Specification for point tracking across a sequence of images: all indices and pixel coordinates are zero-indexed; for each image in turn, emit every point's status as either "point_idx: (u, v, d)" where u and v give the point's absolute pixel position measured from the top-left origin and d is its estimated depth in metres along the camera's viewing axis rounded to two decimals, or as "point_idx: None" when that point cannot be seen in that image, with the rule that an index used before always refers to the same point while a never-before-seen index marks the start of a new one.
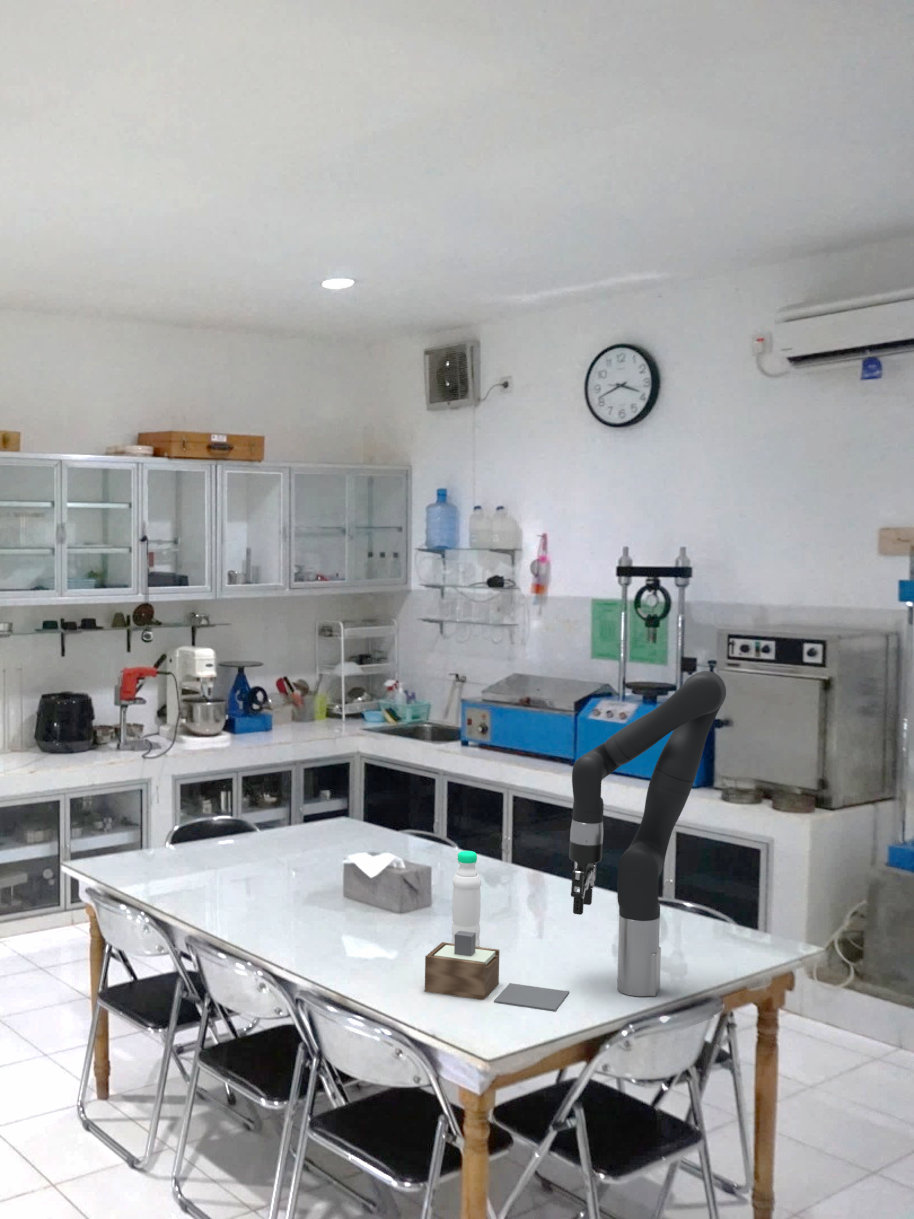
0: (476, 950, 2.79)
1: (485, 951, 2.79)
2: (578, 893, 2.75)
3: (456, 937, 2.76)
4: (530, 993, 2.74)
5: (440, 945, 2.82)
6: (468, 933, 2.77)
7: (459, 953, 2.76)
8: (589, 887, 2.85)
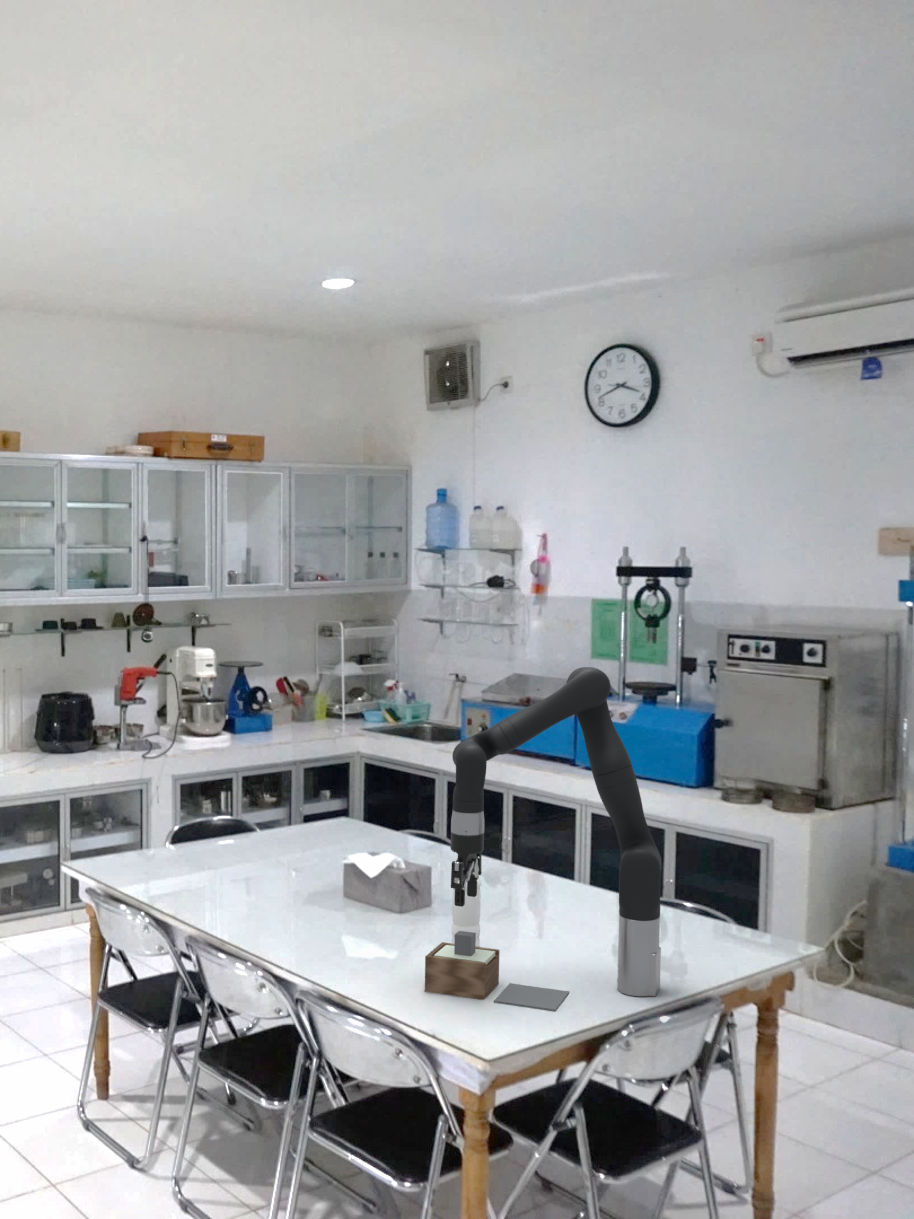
0: (476, 950, 2.79)
1: (485, 951, 2.79)
2: (458, 884, 2.70)
3: (456, 937, 2.76)
4: (530, 993, 2.74)
5: (440, 945, 2.82)
6: (468, 933, 2.77)
7: (459, 953, 2.76)
8: (474, 879, 2.80)
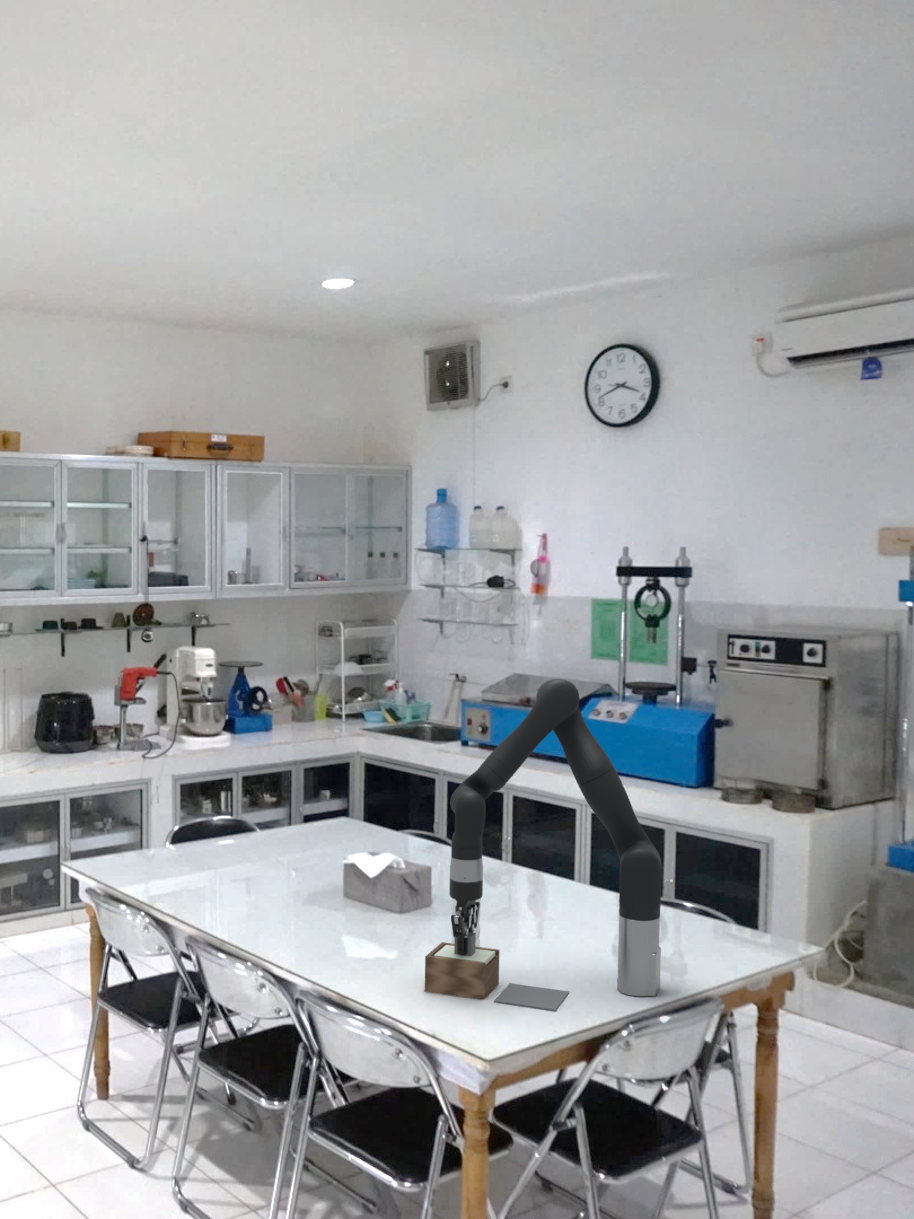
0: (476, 950, 2.79)
1: (485, 951, 2.79)
2: (460, 933, 2.73)
3: (456, 937, 2.76)
4: (530, 993, 2.74)
5: (440, 945, 2.82)
6: (468, 933, 2.77)
7: None
8: None
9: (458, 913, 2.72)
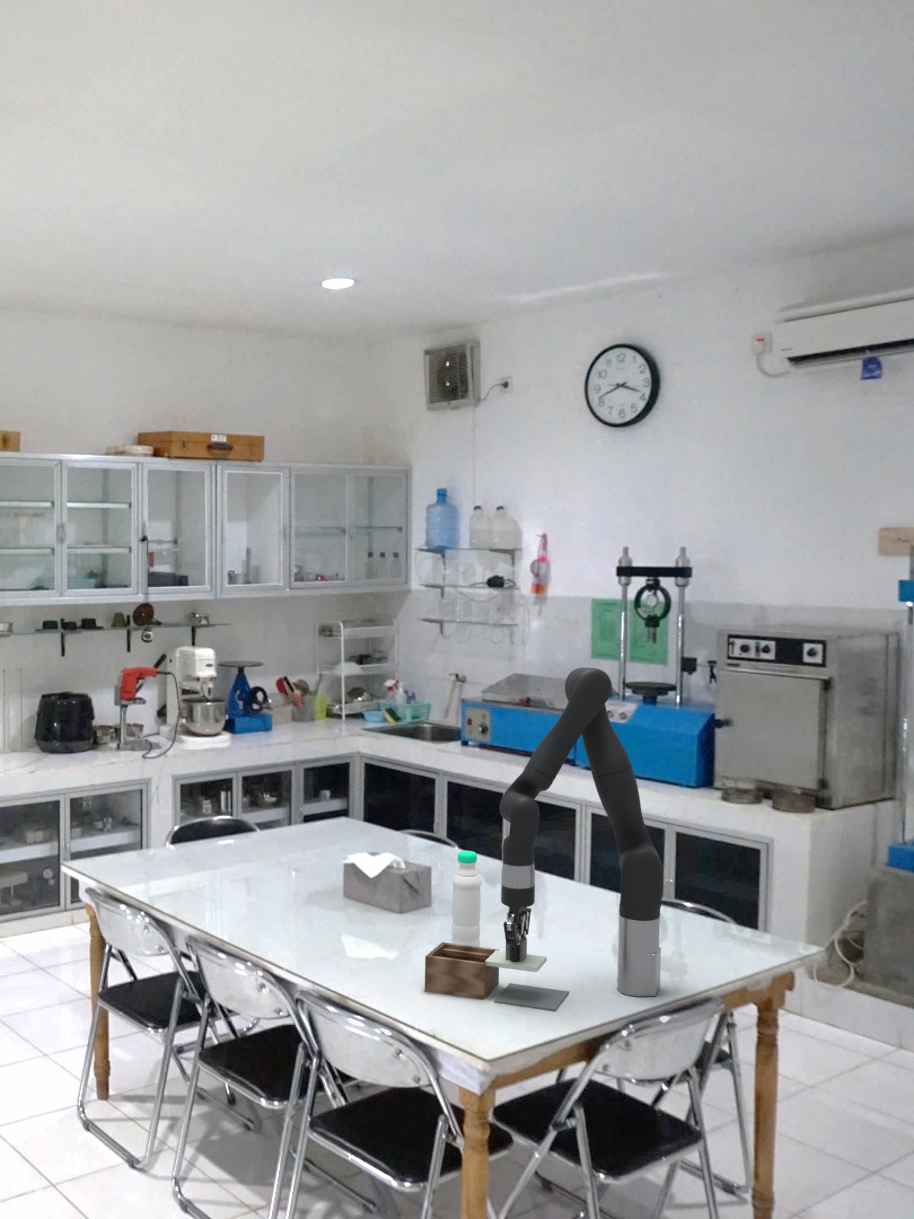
0: (527, 955, 2.75)
1: (536, 956, 2.75)
2: (513, 940, 2.69)
3: None
4: (530, 993, 2.74)
5: (440, 945, 2.82)
6: None
7: None
8: None
9: (511, 920, 2.68)
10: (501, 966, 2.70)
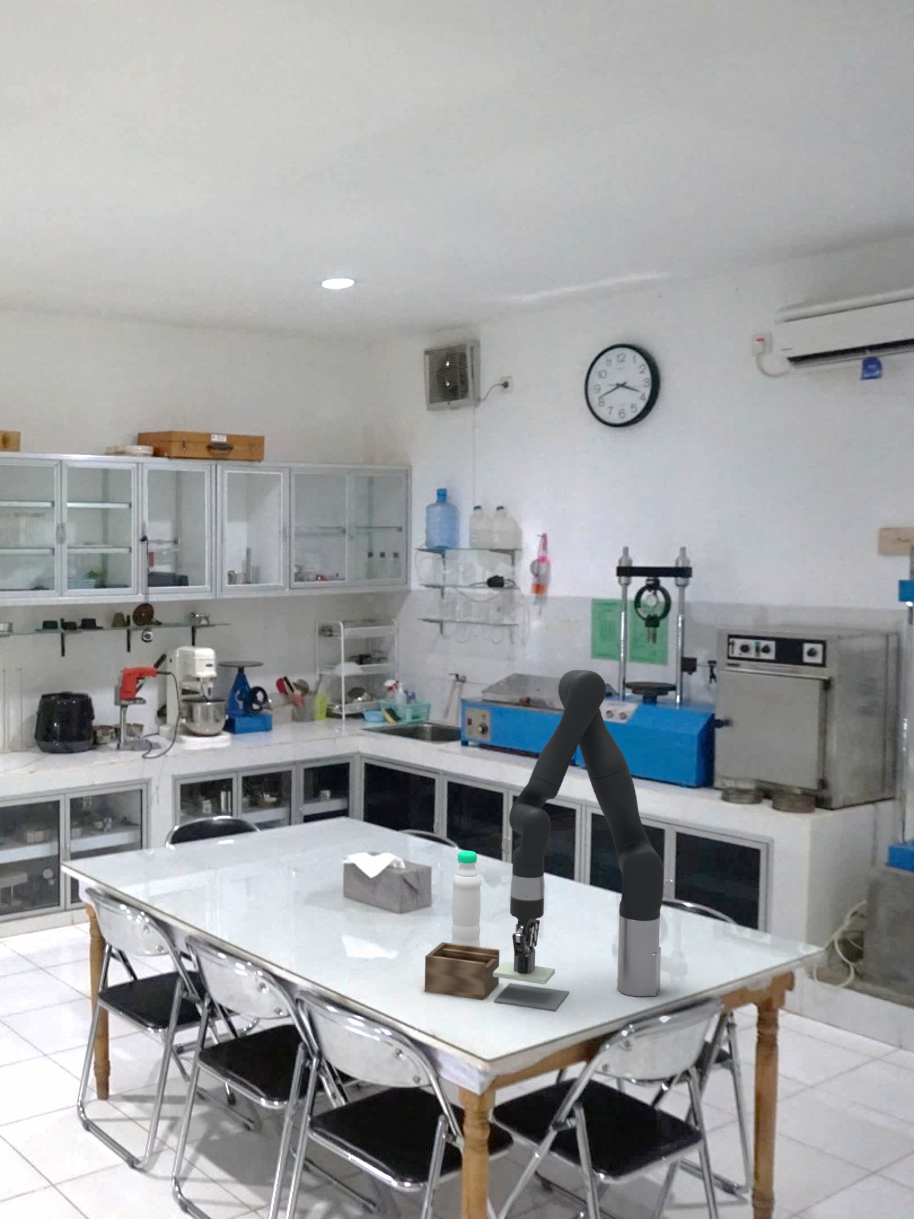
0: (535, 967, 2.75)
1: (544, 968, 2.74)
2: (522, 952, 2.68)
3: None
4: (530, 993, 2.74)
5: (440, 945, 2.82)
6: None
7: None
8: None
9: (520, 932, 2.67)
10: (509, 978, 2.70)
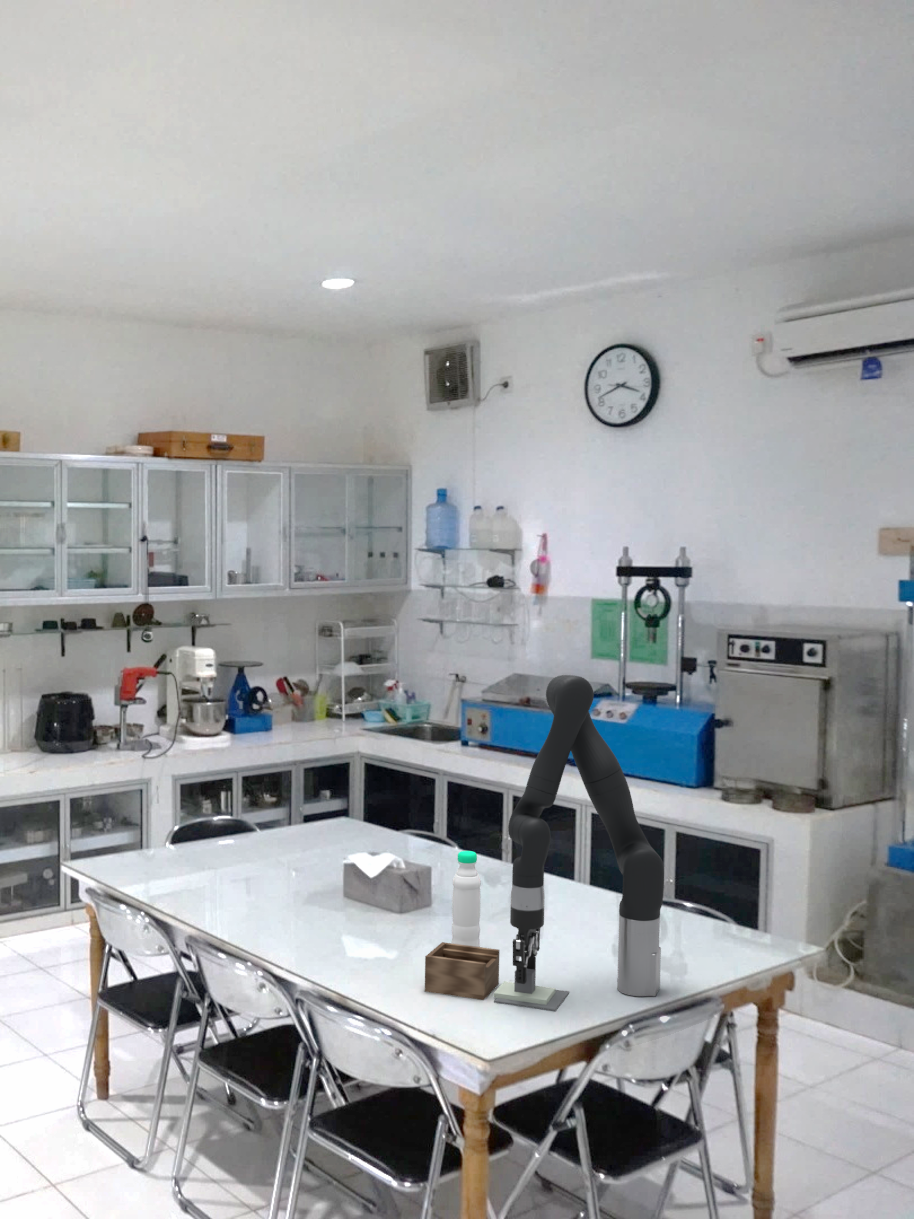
0: (536, 987, 2.75)
1: (545, 988, 2.74)
2: (520, 962, 2.66)
3: None
4: None
5: (440, 945, 2.82)
6: (528, 970, 2.73)
7: (519, 990, 2.72)
8: (532, 955, 2.75)
9: (520, 939, 2.67)
10: (510, 998, 2.70)
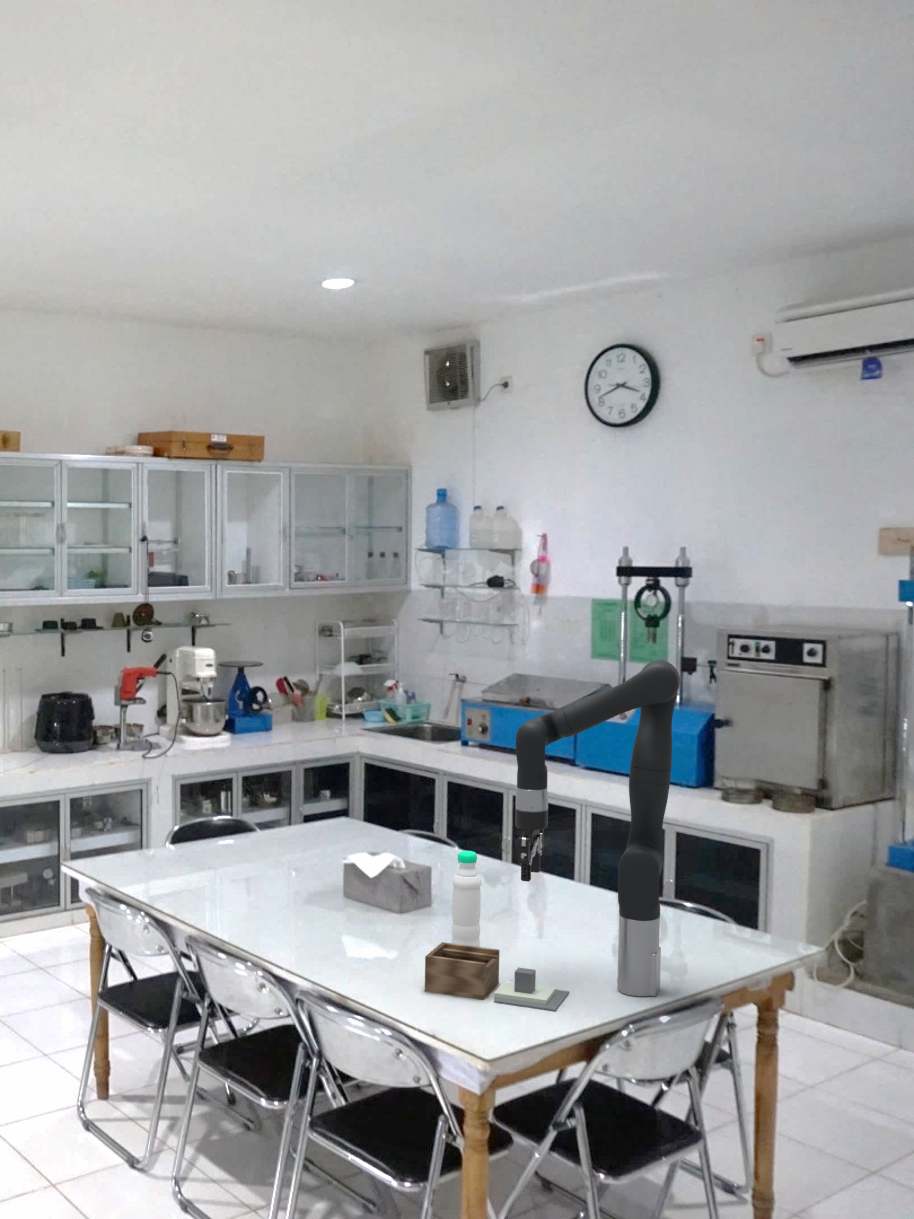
0: (536, 987, 2.75)
1: (545, 988, 2.74)
2: (525, 859, 2.76)
3: (516, 974, 2.72)
4: None
5: (440, 945, 2.82)
6: (528, 970, 2.73)
7: (519, 990, 2.72)
8: (537, 855, 2.86)
9: (526, 837, 2.77)
10: (510, 998, 2.70)
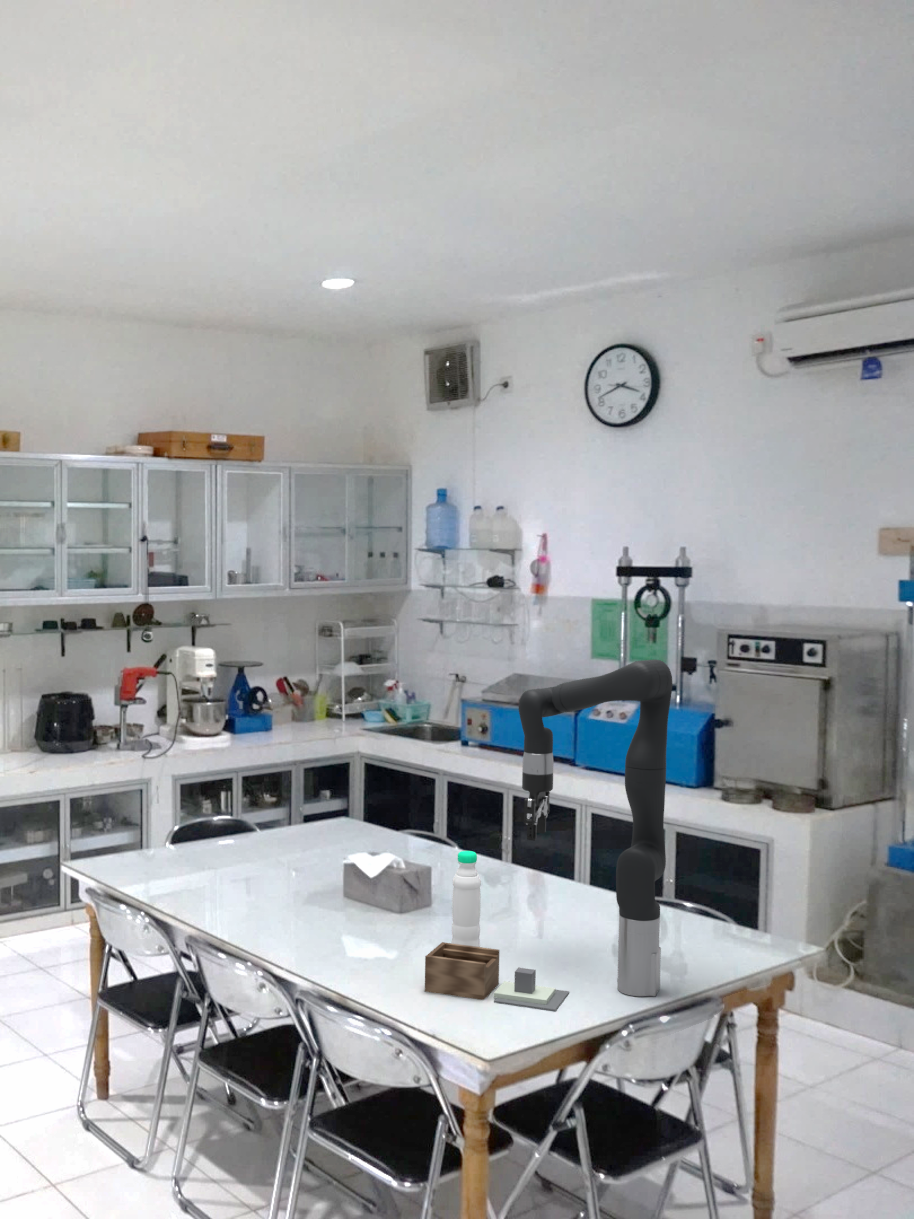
0: (536, 987, 2.75)
1: (545, 988, 2.74)
2: (530, 819, 2.91)
3: (516, 974, 2.72)
4: None
5: (440, 945, 2.82)
6: (528, 970, 2.73)
7: (519, 990, 2.72)
8: (543, 816, 3.01)
9: (531, 798, 2.92)
10: (510, 998, 2.70)
